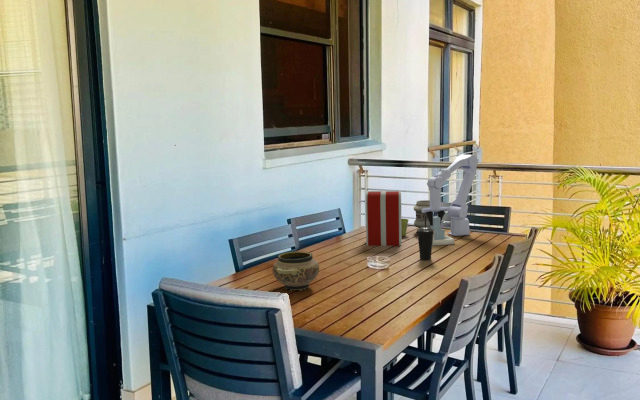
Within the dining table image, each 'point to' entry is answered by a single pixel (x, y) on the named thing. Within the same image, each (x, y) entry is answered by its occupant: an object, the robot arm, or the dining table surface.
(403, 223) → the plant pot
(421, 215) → the apothecary jar
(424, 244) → the drinking cup
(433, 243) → the tray
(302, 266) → the ceramic bowl
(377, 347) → the dining table surface
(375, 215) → the red striped block
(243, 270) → the dining table surface
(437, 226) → the block
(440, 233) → the block
